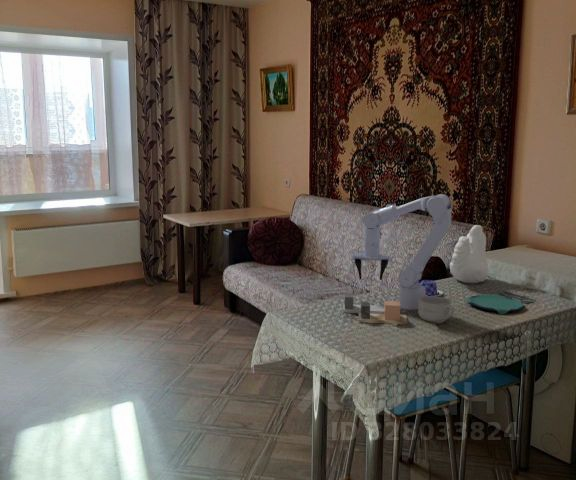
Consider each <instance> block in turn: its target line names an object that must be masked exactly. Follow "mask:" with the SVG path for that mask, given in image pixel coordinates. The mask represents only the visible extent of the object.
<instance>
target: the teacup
mask: <svg viewBox="0 0 576 480" xmlns="http://www.w3.org/2000/svg"><path fill="white" fill-rule="evenodd" d="M417 310H418V312H417V313H418V316H419V317H420V318H421V319H422V320H424V321H427V322H430V323H431V322H432V323H435V325H436V324H443V323H444V322H445V321H447V320H448V319H450V318H451V317H453V316H454V314H455V307H454V306H453V305H452V301H451V300H450V299H448V298H446V297H442V296H437V295H435V296H422V297H419V307H418V309H417Z"/></svg>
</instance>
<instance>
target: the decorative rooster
mask: <svg viewBox="0 0 576 480" xmlns="http://www.w3.org/2000/svg"><path fill="white" fill-rule="evenodd" d="M470 228H471V229H470V230H469V232H468V233H467V234H466V236H463V235H461V236H460V237H459V238H458V241H457V243H456V244H455V246H454V249H453V254H452V256H451V262H449V269H450V274H451V275H452V276H453V278H454V279H455V280H457V281H460V282H462V283H465V284H478V283H480V282H481V283H482V282H484V281H486V279H487V278H488V276H489V265H488V260H487V254H486V248H487V247H486V245H487V237H486V234H485V233H484V230H483V229H484V228H483V227H482V226H481V225H480V224H479V225H478V224H475V225H473V226H472V227H470Z"/></svg>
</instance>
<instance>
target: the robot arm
mask: <svg viewBox="0 0 576 480" xmlns="http://www.w3.org/2000/svg"><path fill="white" fill-rule="evenodd" d="M417 210H421V211H424V212H426V211H427V212H428V213H429V215H430V216H431V217H432V219H433V222H434V226H433V227H432V228H431V230H430V232H429V233H428V235H427V237H426V238H425V240H424V242H423V243H422V244H421V246H420V248H419V249H418V250H417V252H416V254H415V255H414V257H413V259H412V260H411V261H410V262H409V263H408V265H407V266H406V267H405V268H404V269H403V270H402V271H400V272H399V274H398V276H397V279H398V280H397V281H398V283H399V290H398V293H399V295H398V297H399V298H398V302H399V303H400V309H403V310H410V311H411V310H418V307H419V297H422V296H426V290H425V287H424V286H420V280H421V279H422V276H423V271H424V269H425V267H426V265H427V263H428V262H429V260H430V258H431V257H432V256H433V254H434V252H435V251H436V250H437V248H438V246H439V245H440V244H441V242H442V240H443V238H444V237H445V236H446V234H447V233H448V231H449V230H450V228H451V227H452V210H453V204H452V202H451V200H450V197H449V196H448V195H446V194H443V193H440V194H439V193H438V194H436V195H430V196H425V197H421V198H418V199H416V200H412V201H410V202H407V203H405V204H402V205H399V206H397V205H395V204H391V203H388V204H385V207H382V208H379V209H378V208H375V209H374V210H373V211H370V212H367V213H366V214H364V216H363V218H362V223H363V226H364V233H363V235H364V237H363V238H364V239H363V253H352V254H351V261H354V264H355V266H356V269H357V272H358V275H359V276H358V277H359V278H358V279H359V280H362V261H377V262H380V268H379V269H380V270H379V273H380V274H379V281H382V280H383V276H384V273H385V271H386V268H387V266H388V264H389V262H391V261H392V255H390V254H389V255H388V254H387V255H386V254H380V242H381V241H380V240H381V239H380V238H381V225H385V224H388V223H391V222H394V221H398V220H399V218H400V217H401V215H405V214H407V213H411V212H414V211H417Z"/></svg>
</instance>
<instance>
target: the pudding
mask: <svg viewBox="0 0 576 480" xmlns="http://www.w3.org/2000/svg"><path fill="white" fill-rule="evenodd" d="M419 284H420V286H424V287H425V290H426V295H430V296H434V295H435V296H436V297H441V296H442V295H443V294H444V292H443V291H442V290H439V289H438V288H437V283H436V281H435V280H432V279H431V280H430V279H423V280H421V281H420V282H419ZM438 292H439V295H438Z"/></svg>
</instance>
